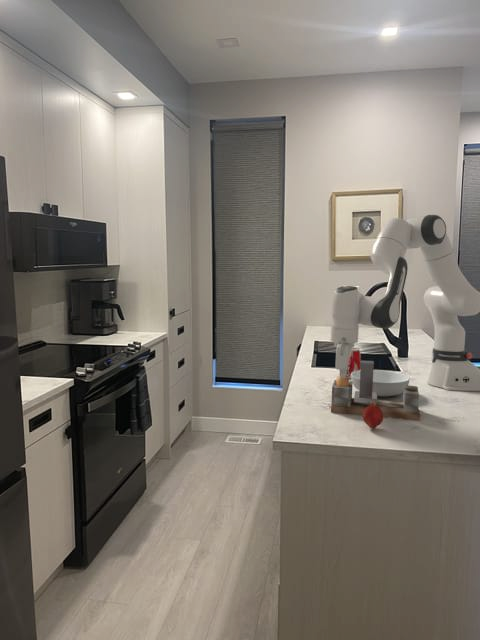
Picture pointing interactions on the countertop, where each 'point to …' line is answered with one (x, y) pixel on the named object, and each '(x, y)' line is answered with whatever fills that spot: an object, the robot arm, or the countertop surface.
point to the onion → (373, 416)
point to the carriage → (366, 384)
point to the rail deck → (404, 410)
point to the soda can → (354, 362)
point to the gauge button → (342, 381)
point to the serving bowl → (383, 382)
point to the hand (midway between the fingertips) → (342, 377)
